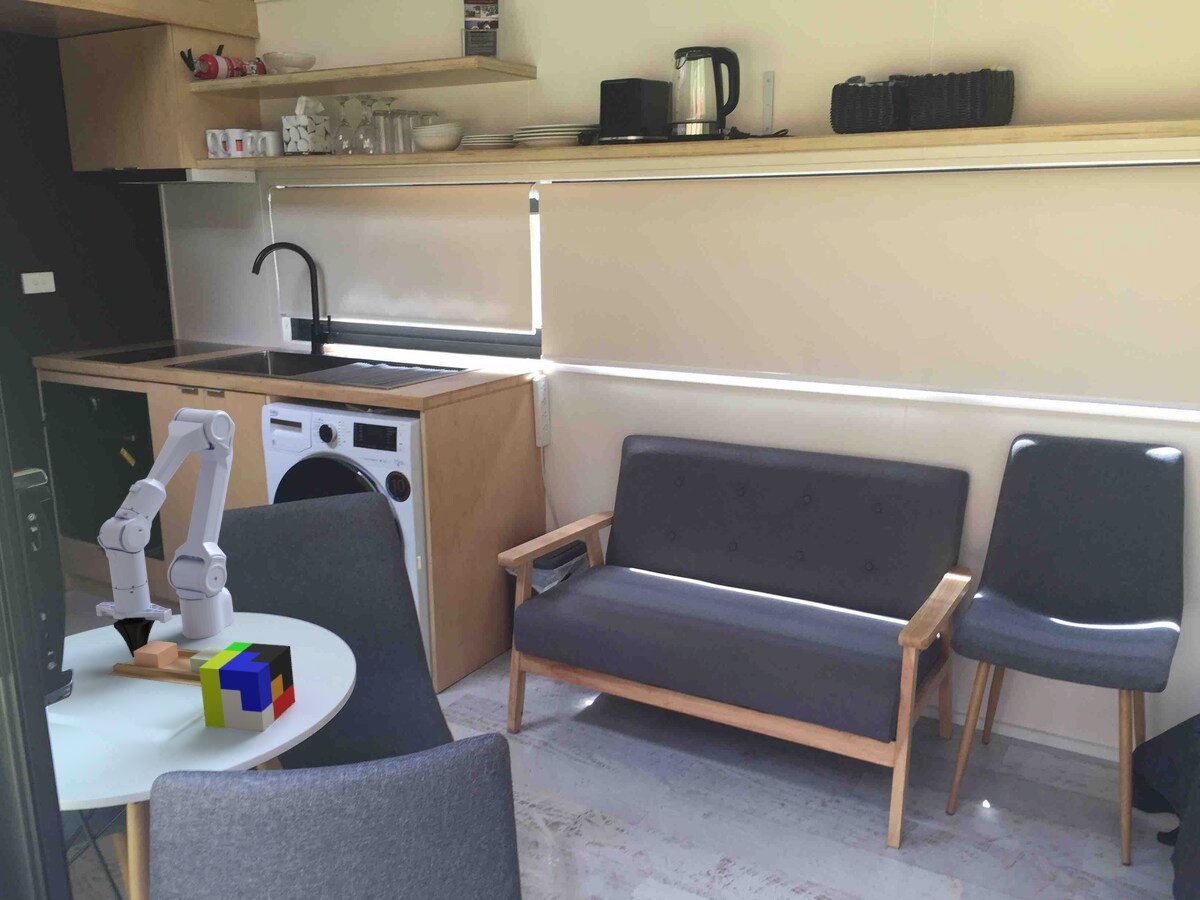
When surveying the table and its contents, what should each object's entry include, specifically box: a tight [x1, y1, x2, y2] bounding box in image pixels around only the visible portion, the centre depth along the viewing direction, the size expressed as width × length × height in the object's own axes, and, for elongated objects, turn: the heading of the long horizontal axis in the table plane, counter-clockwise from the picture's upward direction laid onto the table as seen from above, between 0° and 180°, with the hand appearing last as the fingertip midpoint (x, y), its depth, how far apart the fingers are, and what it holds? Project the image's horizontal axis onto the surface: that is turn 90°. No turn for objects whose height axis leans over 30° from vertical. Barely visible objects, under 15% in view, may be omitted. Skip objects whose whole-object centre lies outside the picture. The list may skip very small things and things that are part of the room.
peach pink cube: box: [133, 639, 179, 668], centre depth 177 cm, size 5×5×3 cm
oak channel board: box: [108, 646, 226, 687], centre depth 175 cm, size 12×26×4 cm, turn 74°
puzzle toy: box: [199, 641, 296, 732], centre depth 159 cm, size 10×10×10 cm
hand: (139, 655), depth 178 cm, fingers closed
